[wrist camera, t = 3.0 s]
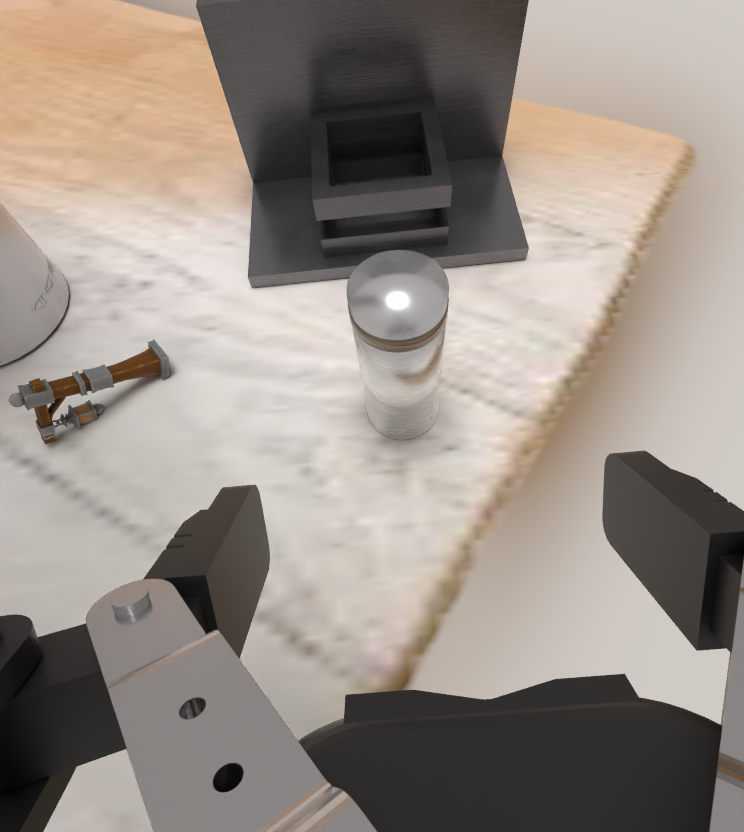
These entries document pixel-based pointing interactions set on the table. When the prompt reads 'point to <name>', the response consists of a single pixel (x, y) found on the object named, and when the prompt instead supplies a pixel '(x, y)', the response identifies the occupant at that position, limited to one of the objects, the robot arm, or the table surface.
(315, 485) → the table surface
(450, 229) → the collar stand
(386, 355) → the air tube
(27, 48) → the table surface
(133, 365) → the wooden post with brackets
